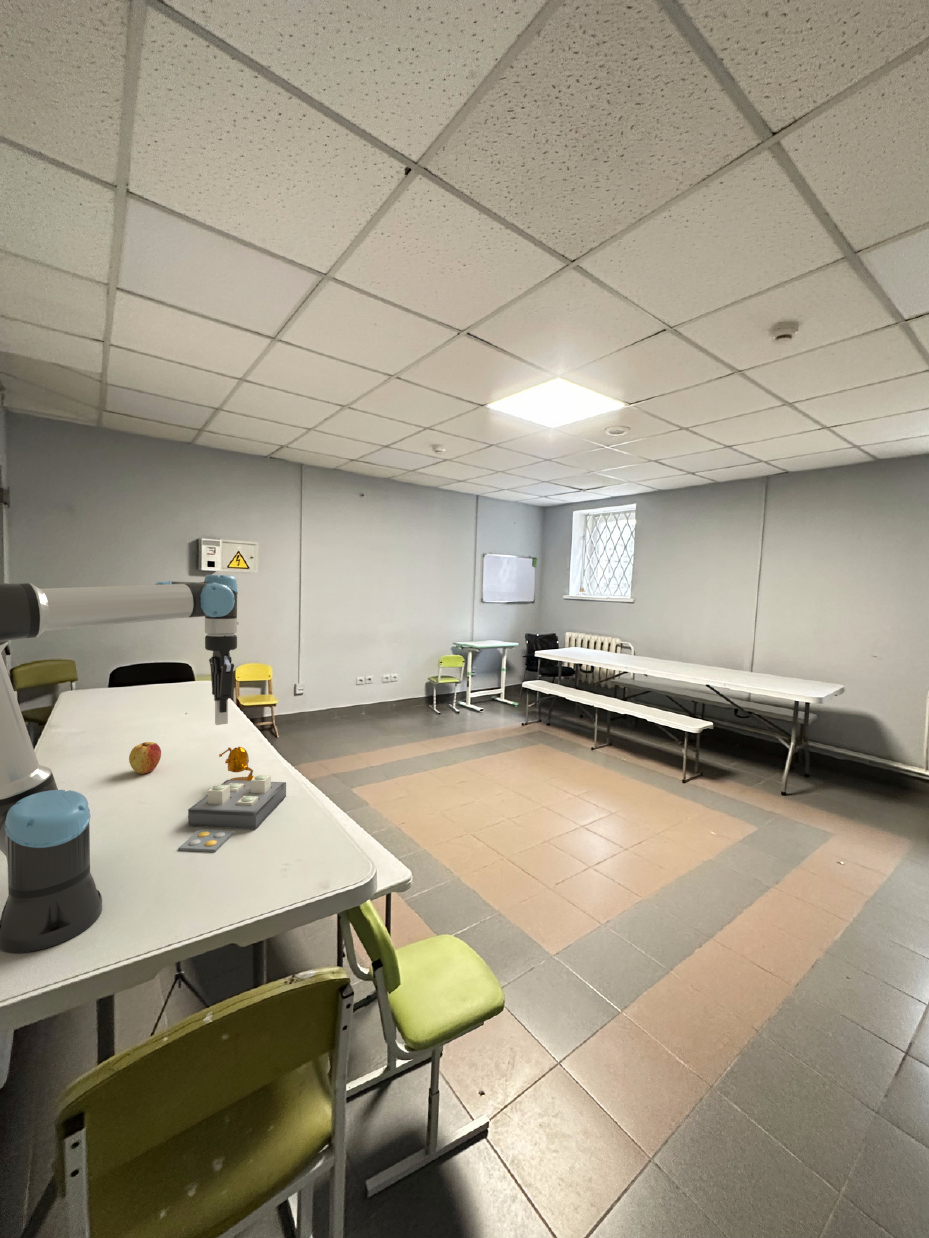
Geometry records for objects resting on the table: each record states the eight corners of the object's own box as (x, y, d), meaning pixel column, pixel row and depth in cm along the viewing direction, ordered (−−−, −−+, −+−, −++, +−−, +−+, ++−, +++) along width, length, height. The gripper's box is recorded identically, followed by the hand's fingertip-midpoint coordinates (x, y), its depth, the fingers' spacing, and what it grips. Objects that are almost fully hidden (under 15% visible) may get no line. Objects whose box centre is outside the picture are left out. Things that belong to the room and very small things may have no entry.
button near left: (222, 806, 134) (222, 790, 134) (207, 805, 134) (207, 789, 134) (229, 799, 138) (229, 784, 138) (215, 799, 138) (215, 783, 138)
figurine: (218, 783, 158) (218, 746, 157) (253, 775, 165) (253, 740, 164) (225, 792, 152) (225, 753, 151) (261, 784, 158) (262, 747, 158)
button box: (255, 829, 130) (255, 812, 129) (188, 826, 130) (188, 809, 130) (286, 796, 150) (286, 782, 149) (227, 794, 150) (227, 779, 150)
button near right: (251, 817, 134) (251, 801, 133) (237, 816, 134) (237, 801, 134) (258, 810, 138) (258, 795, 137) (244, 810, 138) (244, 794, 138)
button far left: (237, 803, 142) (237, 788, 142) (223, 802, 142) (223, 787, 142) (243, 797, 146) (243, 782, 146) (230, 796, 146) (230, 782, 146)
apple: (158, 775, 163) (157, 745, 162) (125, 778, 160) (125, 748, 159) (163, 765, 171) (163, 737, 171) (132, 768, 168) (132, 739, 167)
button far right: (264, 794, 142) (264, 779, 141) (250, 794, 142) (250, 779, 141) (270, 789, 146) (270, 774, 145) (257, 788, 146) (257, 774, 145)
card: (215, 851, 118) (215, 848, 118) (178, 850, 119) (178, 846, 119) (234, 833, 127) (234, 830, 127) (199, 831, 128) (199, 828, 128)
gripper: (244, 636, 127) (244, 726, 129) (228, 631, 137) (228, 716, 138) (212, 637, 122) (213, 732, 124) (198, 632, 132) (199, 720, 133)
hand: (221, 723), depth 131 cm, fingers closed
